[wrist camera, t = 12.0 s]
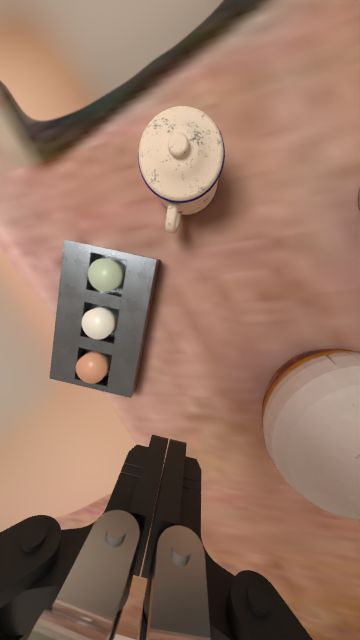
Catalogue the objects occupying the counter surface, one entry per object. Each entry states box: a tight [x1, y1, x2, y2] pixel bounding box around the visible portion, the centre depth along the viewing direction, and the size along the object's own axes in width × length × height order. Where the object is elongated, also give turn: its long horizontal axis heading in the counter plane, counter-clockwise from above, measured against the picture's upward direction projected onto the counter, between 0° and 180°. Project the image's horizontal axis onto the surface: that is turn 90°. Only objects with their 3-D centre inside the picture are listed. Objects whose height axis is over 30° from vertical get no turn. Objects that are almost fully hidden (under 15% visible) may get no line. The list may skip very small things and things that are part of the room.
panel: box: [50, 240, 160, 398], centre depth 39 cm, size 21×13×3 cm, turn 168°
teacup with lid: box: [138, 106, 225, 234], centre depth 30 cm, size 12×9×12 cm
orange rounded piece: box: [76, 350, 112, 384], centre depth 40 cm, size 4×4×4 cm
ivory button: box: [82, 306, 119, 339], centre depth 38 cm, size 4×4×4 cm
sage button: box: [88, 259, 126, 292], centre depth 37 cm, size 4×4×4 cm
